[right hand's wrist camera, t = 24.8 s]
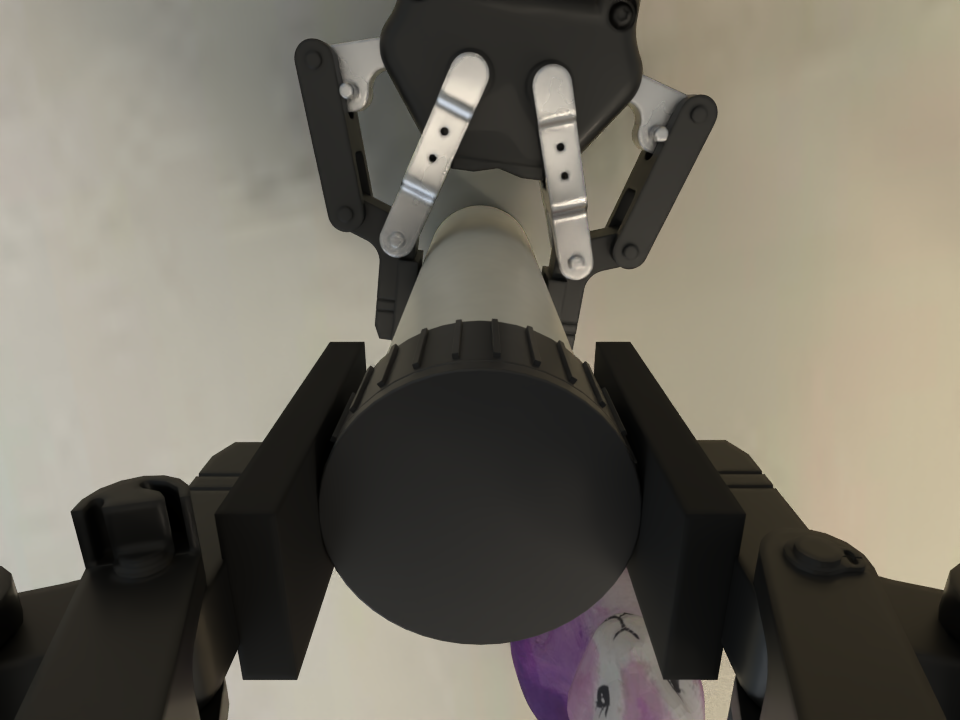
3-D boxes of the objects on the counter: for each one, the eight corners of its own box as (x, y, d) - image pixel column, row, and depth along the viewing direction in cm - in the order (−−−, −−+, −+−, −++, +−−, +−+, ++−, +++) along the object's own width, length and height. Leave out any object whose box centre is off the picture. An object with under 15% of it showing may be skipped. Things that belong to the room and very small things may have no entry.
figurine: (608, 480, 33) (702, 744, 19) (698, 610, 36) (835, 919, 22) (459, 563, 35) (446, 859, 21) (556, 680, 38) (601, 1007, 24)
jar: (456, 187, 28) (411, 313, 10) (548, 233, 29) (666, 432, 11) (413, 278, 30) (305, 538, 11) (502, 320, 30) (535, 628, 12)
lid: (303, 357, 12) (260, 413, 9) (587, 283, 11) (613, 324, 9) (391, 582, 13) (373, 674, 11) (639, 527, 13) (672, 612, 11)
